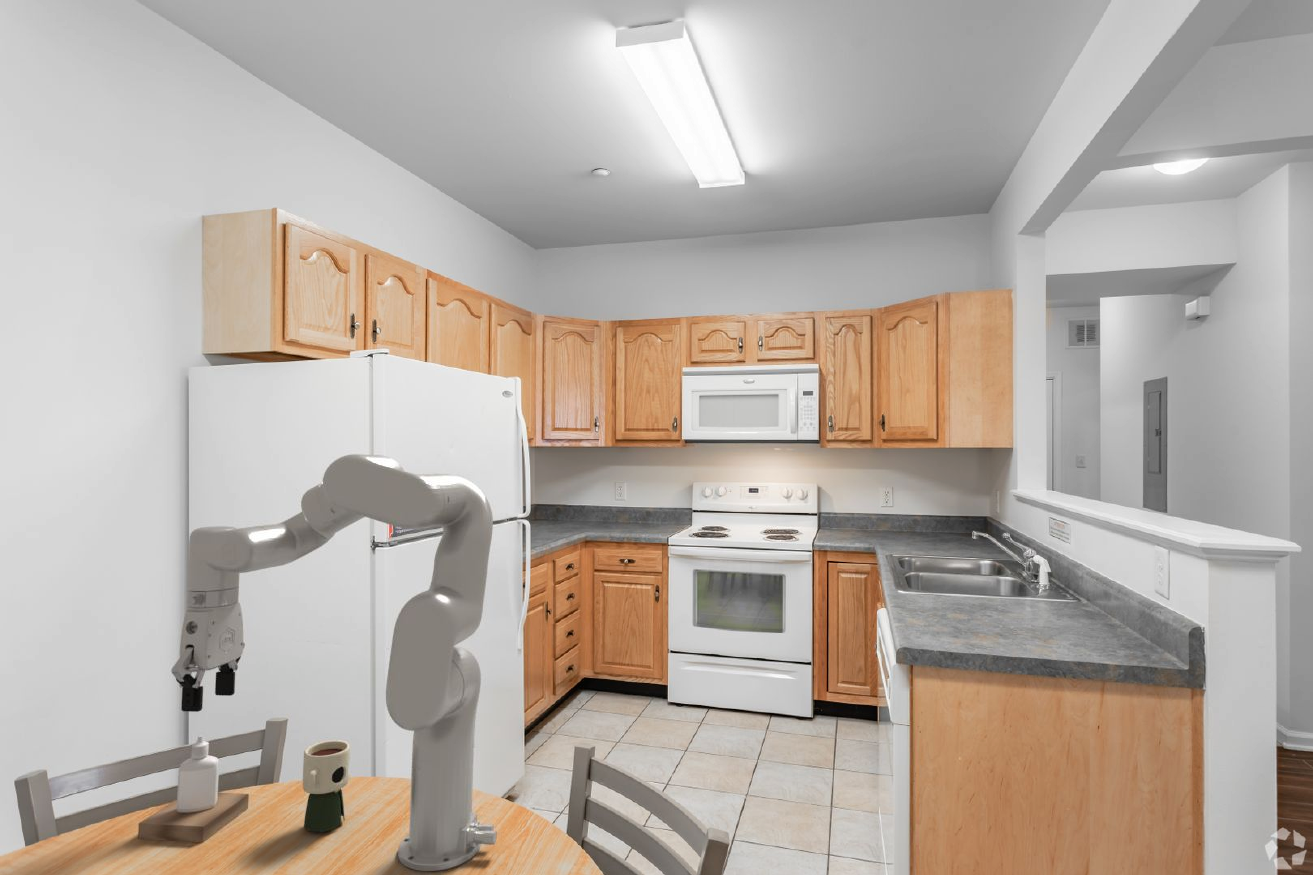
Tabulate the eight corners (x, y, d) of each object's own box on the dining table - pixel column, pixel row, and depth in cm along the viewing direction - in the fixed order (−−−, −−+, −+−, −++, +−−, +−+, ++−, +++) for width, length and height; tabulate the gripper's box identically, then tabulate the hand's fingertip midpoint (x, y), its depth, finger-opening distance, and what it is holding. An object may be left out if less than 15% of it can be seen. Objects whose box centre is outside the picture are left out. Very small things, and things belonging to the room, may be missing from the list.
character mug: (329, 844, 109) (333, 762, 109) (285, 843, 109) (289, 761, 109) (359, 810, 120) (362, 735, 120) (319, 809, 120) (322, 735, 120)
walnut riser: (248, 808, 120) (248, 793, 120) (202, 842, 109) (203, 826, 109) (188, 805, 120) (189, 790, 120) (137, 838, 109) (138, 823, 109)
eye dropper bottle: (201, 815, 112) (205, 742, 113) (171, 812, 113) (175, 739, 113) (222, 802, 116) (225, 732, 117) (192, 800, 117) (196, 729, 118)
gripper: (197, 609, 108) (192, 722, 107) (265, 590, 125) (261, 687, 124) (152, 608, 108) (147, 720, 107) (226, 589, 126) (222, 686, 125)
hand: (208, 701), depth 116 cm, fingers open, 7 cm apart
